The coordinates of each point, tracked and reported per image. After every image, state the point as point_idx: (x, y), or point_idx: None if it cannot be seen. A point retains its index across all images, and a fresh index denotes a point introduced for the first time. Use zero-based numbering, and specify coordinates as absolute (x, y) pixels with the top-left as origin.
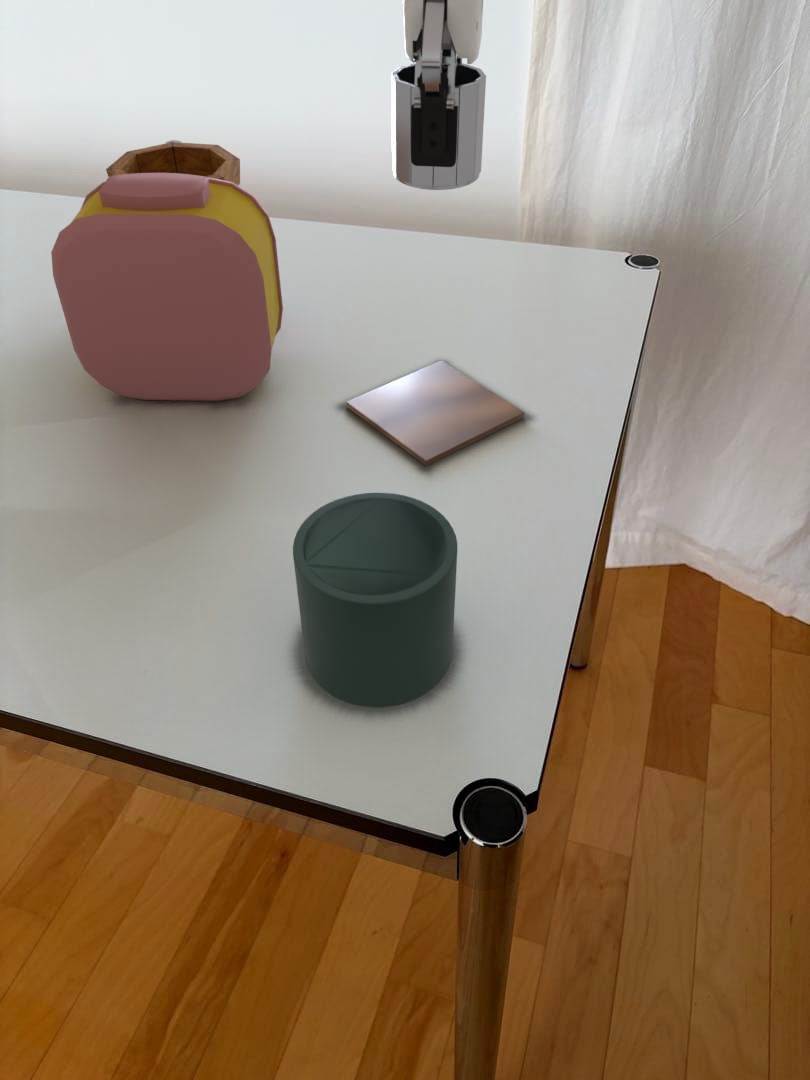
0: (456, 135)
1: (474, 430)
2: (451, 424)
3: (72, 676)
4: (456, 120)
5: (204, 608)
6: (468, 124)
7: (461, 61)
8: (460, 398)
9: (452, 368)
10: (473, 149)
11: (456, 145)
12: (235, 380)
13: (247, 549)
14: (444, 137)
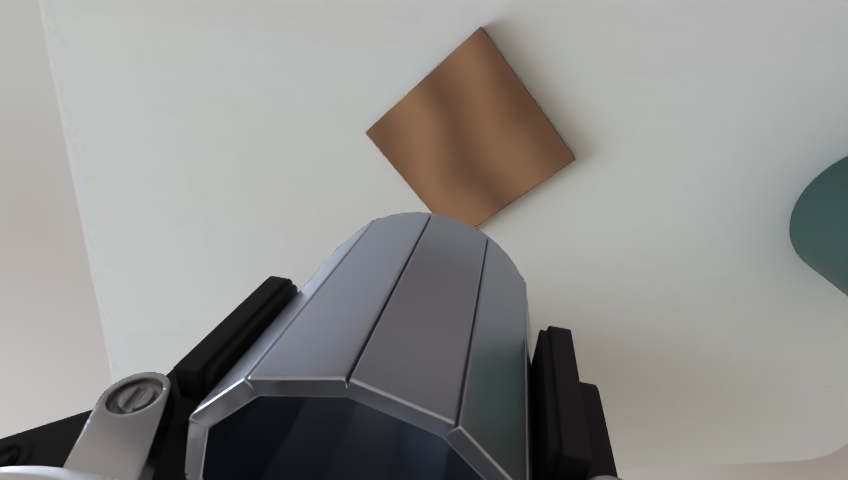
0: (577, 385)
1: (519, 98)
2: (504, 126)
3: (810, 428)
4: (585, 425)
5: (758, 351)
6: (498, 347)
7: (145, 410)
8: (449, 112)
9: (382, 120)
10: (488, 280)
11: (567, 359)
12: None
13: (683, 321)
14: (603, 421)
